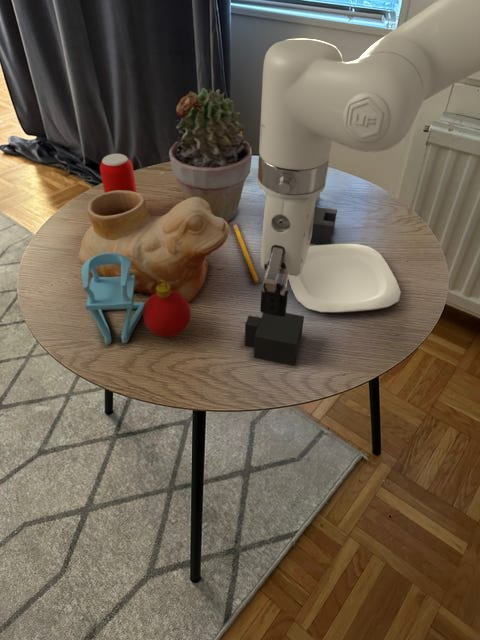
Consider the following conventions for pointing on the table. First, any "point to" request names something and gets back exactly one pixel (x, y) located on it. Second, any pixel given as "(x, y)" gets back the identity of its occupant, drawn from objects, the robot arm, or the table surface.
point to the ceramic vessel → (154, 241)
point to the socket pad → (323, 226)
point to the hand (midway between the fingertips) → (280, 289)
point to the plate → (344, 280)
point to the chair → (111, 293)
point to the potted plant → (211, 152)
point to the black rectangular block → (274, 337)
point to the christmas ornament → (166, 312)
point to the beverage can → (117, 173)
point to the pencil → (245, 253)
